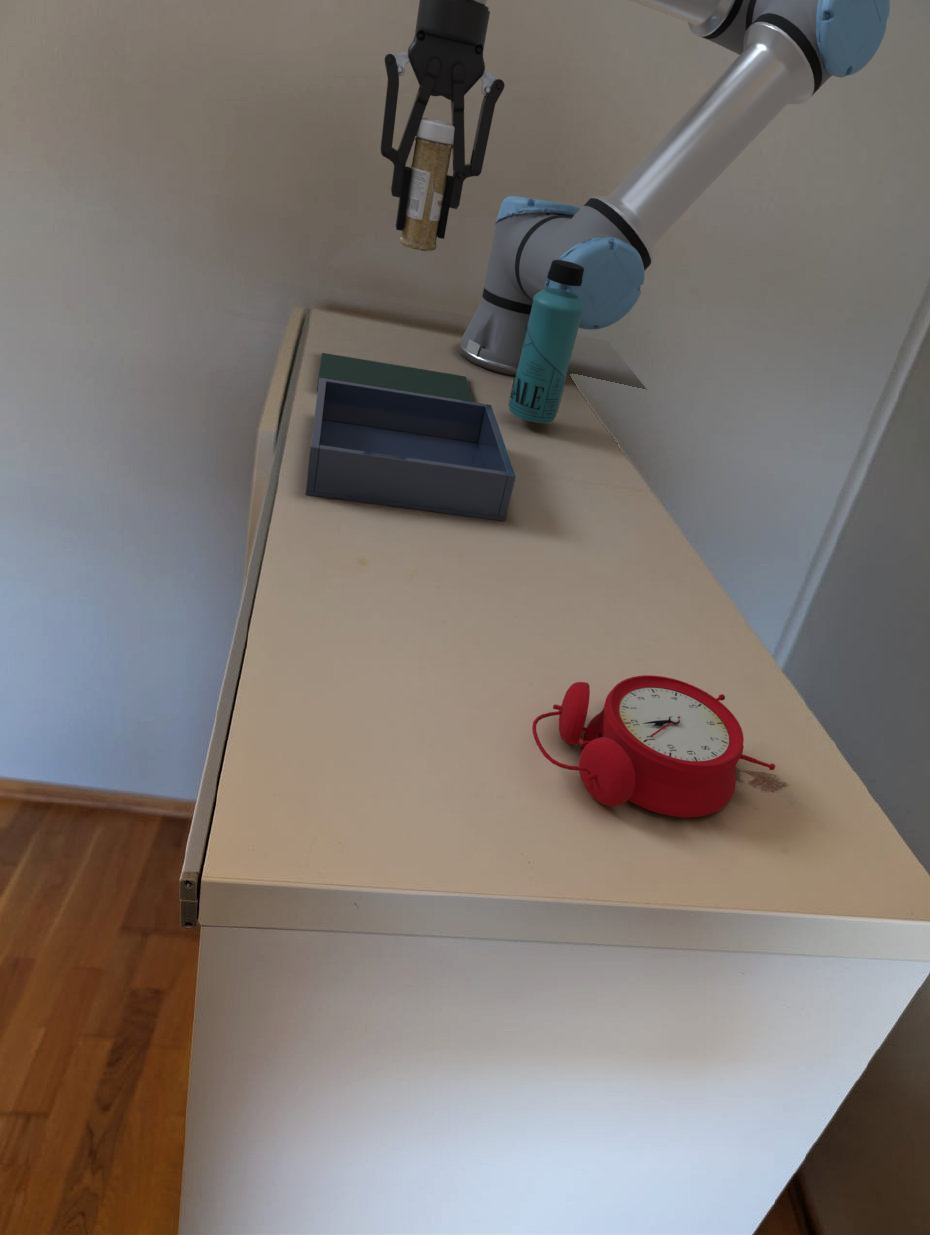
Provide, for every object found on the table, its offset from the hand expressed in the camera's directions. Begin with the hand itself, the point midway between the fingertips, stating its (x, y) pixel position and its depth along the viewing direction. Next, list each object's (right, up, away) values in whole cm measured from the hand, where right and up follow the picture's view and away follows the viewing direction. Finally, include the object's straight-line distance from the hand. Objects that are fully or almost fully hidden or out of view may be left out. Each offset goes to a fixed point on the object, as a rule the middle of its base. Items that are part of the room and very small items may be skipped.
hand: (419, 231), depth 103 cm
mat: (-4, -16, +10) cm, 19 cm away
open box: (-1, -30, -11) cm, 32 cm away
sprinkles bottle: (0, -2, +1) cm, 2 cm away
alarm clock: (+17, -56, -45) cm, 74 cm away
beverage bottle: (+14, -22, +8) cm, 27 cm away
